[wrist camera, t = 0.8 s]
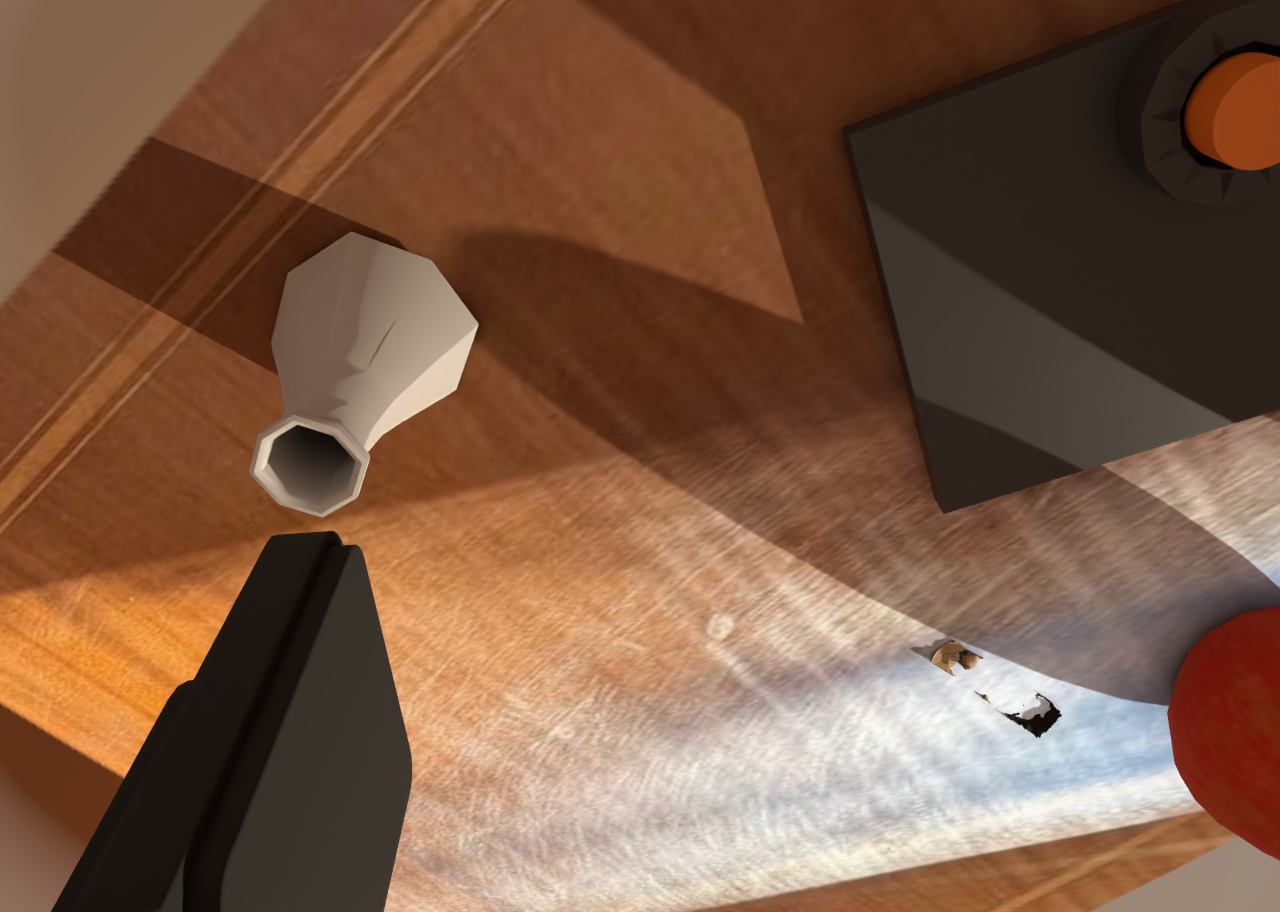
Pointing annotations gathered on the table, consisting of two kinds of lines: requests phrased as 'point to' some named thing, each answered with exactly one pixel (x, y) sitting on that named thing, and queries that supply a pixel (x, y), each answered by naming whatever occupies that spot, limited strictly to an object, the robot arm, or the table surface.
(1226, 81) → the button
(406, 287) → the flask
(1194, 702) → the apple
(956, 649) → the fossil
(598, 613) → the table surface
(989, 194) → the scale
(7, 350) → the table surface
